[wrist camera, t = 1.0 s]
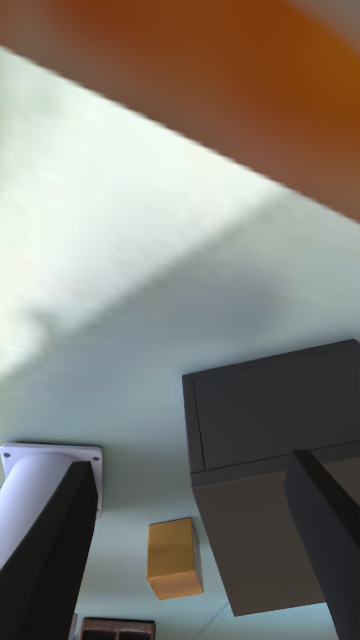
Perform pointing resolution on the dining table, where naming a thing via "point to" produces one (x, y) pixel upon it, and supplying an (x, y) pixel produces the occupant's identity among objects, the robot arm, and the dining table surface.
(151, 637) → the letter holder
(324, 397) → the black drawer cabinet
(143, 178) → the dining table surface
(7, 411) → the dining table surface
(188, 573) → the block
